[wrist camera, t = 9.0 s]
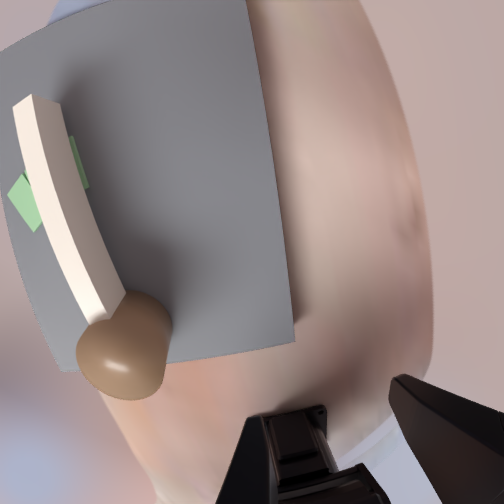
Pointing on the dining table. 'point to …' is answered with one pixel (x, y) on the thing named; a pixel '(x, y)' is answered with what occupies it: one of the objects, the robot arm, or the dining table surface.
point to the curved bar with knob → (91, 265)
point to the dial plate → (156, 171)
